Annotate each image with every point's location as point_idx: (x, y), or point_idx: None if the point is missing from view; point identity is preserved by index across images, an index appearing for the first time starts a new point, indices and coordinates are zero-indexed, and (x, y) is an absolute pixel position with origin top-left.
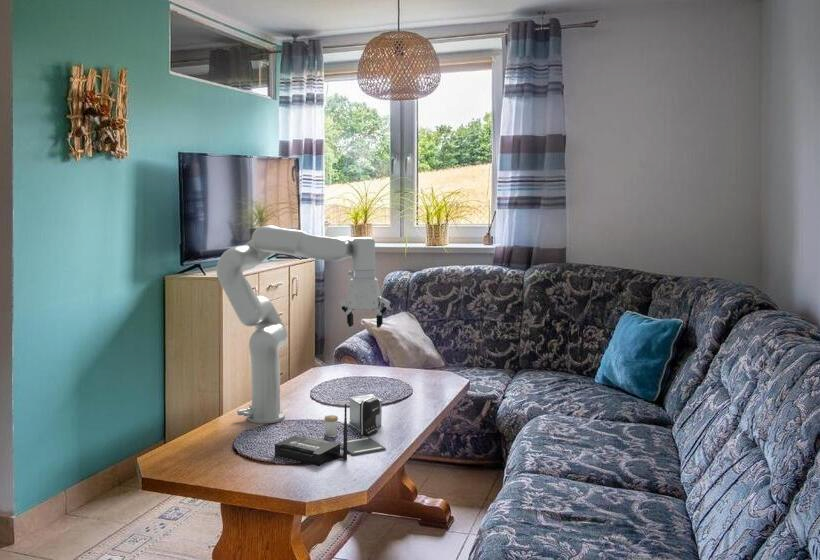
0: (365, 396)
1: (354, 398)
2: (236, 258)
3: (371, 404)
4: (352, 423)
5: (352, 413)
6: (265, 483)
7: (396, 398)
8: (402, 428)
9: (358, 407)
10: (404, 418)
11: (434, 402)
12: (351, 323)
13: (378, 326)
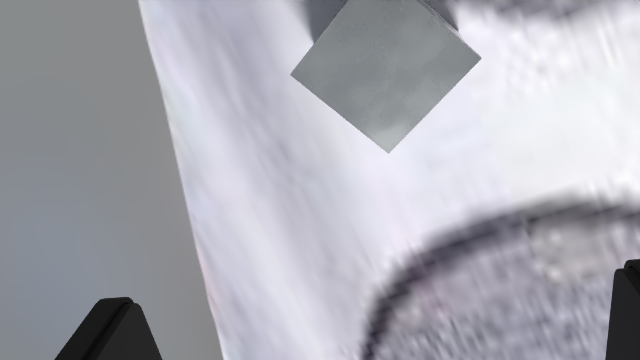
0: (399, 103)
1: (440, 46)
2: None
3: None
4: (436, 12)
5: (441, 21)
6: None
7: (394, 346)
8: (223, 45)
9: None
10: (271, 159)
11: (259, 342)
12: (631, 337)
13: (96, 303)
